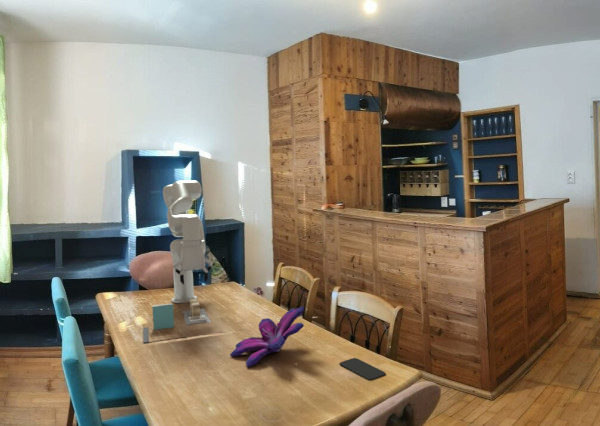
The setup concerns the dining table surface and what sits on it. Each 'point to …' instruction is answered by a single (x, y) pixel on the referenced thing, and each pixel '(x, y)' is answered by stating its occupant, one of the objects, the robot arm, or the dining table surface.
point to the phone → (362, 369)
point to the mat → (146, 336)
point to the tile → (163, 316)
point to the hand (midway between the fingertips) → (194, 282)
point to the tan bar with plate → (196, 312)
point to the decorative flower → (270, 336)
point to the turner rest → (188, 314)
